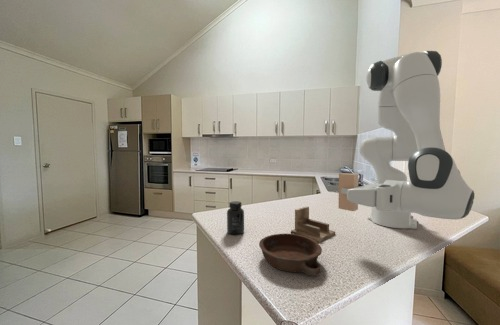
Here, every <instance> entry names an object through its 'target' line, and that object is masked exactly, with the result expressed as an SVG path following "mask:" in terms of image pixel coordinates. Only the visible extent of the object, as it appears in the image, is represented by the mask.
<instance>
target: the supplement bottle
mask: <svg viewBox="0 0 500 325" xmlns="http://www.w3.org/2000/svg"><path fill="white" fill-rule="evenodd" d="M228 204H229V206H228V207H229V208H228V209H227V211H226V224H227V225H226V232H227V234H228V235H231V236H239V235H242V234H243V233H244V232H245V210H244V209H243V208H242V206H243V205H242V201H239V200H237V201H235V200H234V201H230V202H229V203H228Z"/></svg>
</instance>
